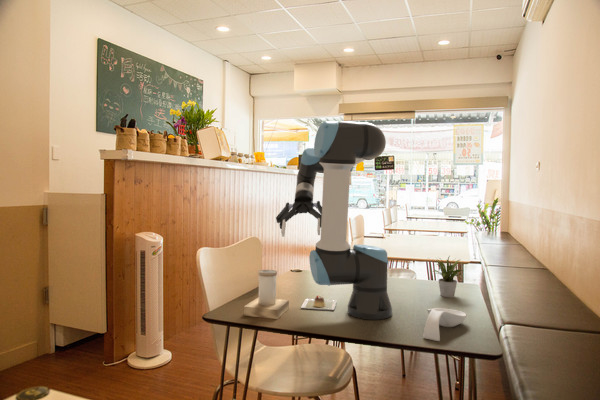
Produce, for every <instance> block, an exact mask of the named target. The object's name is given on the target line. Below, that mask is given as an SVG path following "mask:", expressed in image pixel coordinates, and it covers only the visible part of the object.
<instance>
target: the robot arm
mask: <svg viewBox="0 0 600 400" xmlns="http://www.w3.org/2000/svg"><path fill="white" fill-rule="evenodd" d="M313 144H314V146H313V147H307V148H305V149H304V150H303V152H302V154H301V158H300V163H299V164H300V165H299V170H298V172H297V176H296V187H295V193H294V202H293V203H290V202H286V203H285V206H284V207H282V209H281V210H280V212H279V213H278V214H277V216H276V217H275V220H276V223H277V224H279V229H280V231H281V232H280V233H281V237H285V234H286V225H287V224H286V223H287V222H288V221H289V220H291V218H293V217H294V216H296V215H298V214H299V215H300V214H307V213H308V214H309V215H312V216H313V217H314V218H315V219H316V220H317V230H316V231H317V236H320V239H319V240H318V241H317V242H316V243H315V249H312V250H311V251H310V252H309V259H308V260H309V268H310V272H311V277H312V278H313V281H314V282H315V284H317V285H318V286H329V287H330V286H337V285H339V286H340V285H352V291H351V295H350V297H349V300H348V304H347V313H348V314H349V315H350V316H352V317H355V318H358V319H362V320H372V321H373V320H375V321H376V320H378V321H379V320H385V319H388V318H390V317H392V316H393V306H392V304H391V300H390V298H389V297H390V296H389V293H388V264H389V260H388V252H387V251H386V249H384V248H382V247H377V246H374V245H373V246H372V245H367V244H354V245H353V247H352V249H351V245H350V243H348V241H347V235H348V231H347V230H348V218H349V217H348V216H349V215H348V214H349V201H350V200H349V197H350V184H351V183H350V181H351V179H350V178H351V172H353V169H354V166H356V165H358V164H360V163H362V162H364V161H371V160H374V159H376V158H378V157H379V156H381V154H383V152H384V151H385V148H386V144H387V141H386V136H385V134H384V132H383V131H382V130H381V128H379V127H378V126H377V125H375V124H374V123H370V122H364V121H362V122H361V121H358V122H357V121H345V120H325V121H323V122H322V123H321V124H320V125H319V126H318V129H317V131H316V133H315V138H314V143H313ZM317 173H323V179H322V181H323V182H322V202H320V201H319V200H317V201H316V202H314V189H315V182H316V176H317ZM314 208H316V209H317V210H316V209H314Z"/></svg>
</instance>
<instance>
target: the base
mask: <svg viewBox="0 0 600 400" xmlns="http://www.w3.org/2000/svg"><path fill="white" fill-rule="evenodd" d="M258 300H259V296H257V297H256V298H255V299H253V300H252V301H250V302H248V303H247V304H246V305H244V306H243V316H244V317H245V316H247V317H255V318H256V317H257V318H264V319H272V320H273V319H274V320H278V319H279V318H280V317H282V315H284V314H285V313H286V312H287V311H288V310H289V309H290V300H289V299H278V298H276V304H275V305H270V306H264V305H260V304H259V303H258Z"/></svg>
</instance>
